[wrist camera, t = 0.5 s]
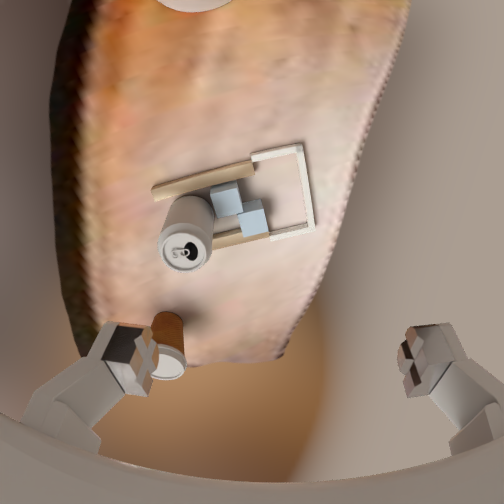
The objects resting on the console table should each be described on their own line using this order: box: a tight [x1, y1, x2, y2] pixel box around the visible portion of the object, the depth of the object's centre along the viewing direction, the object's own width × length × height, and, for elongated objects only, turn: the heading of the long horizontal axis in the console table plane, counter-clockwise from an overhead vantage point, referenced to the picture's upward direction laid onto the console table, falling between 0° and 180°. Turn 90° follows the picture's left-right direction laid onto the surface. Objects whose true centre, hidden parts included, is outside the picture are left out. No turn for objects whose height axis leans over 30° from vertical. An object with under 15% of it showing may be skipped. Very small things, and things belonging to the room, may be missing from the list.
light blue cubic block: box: [237, 199, 269, 237], centre depth 48 cm, size 4×4×4 cm
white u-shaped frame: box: [250, 143, 315, 241], centre depth 47 cm, size 15×8×2 cm, turn 13°
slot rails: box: [151, 160, 270, 250], centre depth 48 cm, size 13×16×2 cm
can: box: [157, 196, 214, 273], centre depth 44 cm, size 8×8×12 cm
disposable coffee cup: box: [150, 312, 187, 380], centre depth 56 cm, size 10×10×12 cm
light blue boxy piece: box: [210, 180, 243, 219], centre depth 46 cm, size 4×4×4 cm
